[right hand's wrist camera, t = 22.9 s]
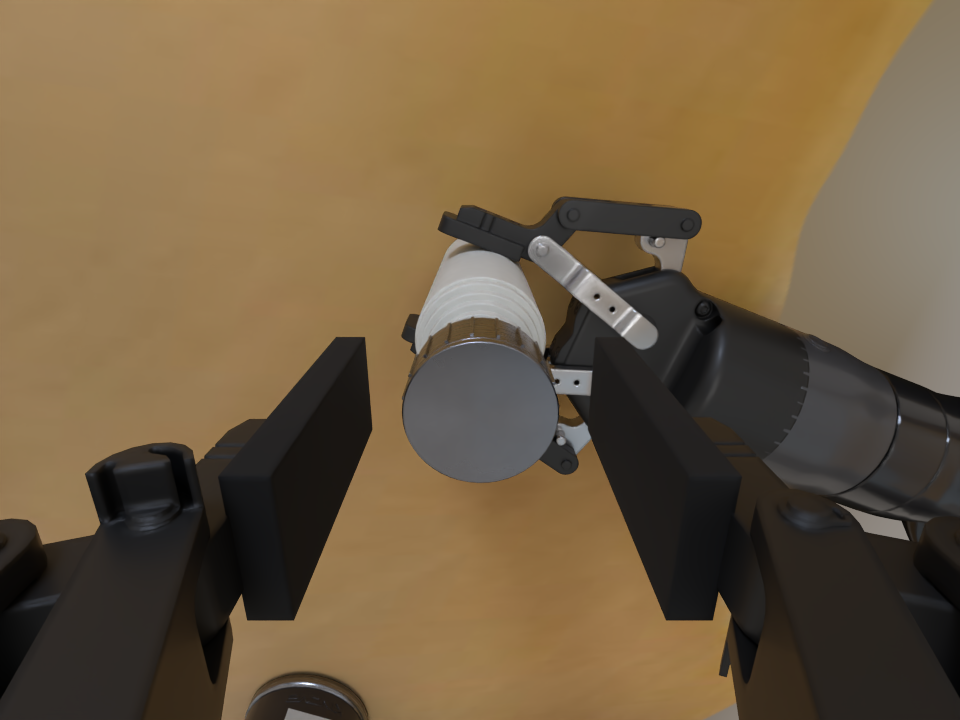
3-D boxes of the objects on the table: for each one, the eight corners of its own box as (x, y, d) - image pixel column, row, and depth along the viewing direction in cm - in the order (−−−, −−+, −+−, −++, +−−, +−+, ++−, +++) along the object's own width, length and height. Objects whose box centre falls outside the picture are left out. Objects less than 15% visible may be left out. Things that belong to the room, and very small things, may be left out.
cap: (400, 322, 14) (386, 347, 12) (546, 307, 13) (557, 330, 11) (421, 449, 15) (412, 491, 13) (554, 437, 15) (565, 477, 13)
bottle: (426, 257, 29) (356, 373, 13) (494, 216, 28) (515, 283, 12) (466, 322, 30) (451, 505, 14) (533, 285, 30) (599, 432, 13)
